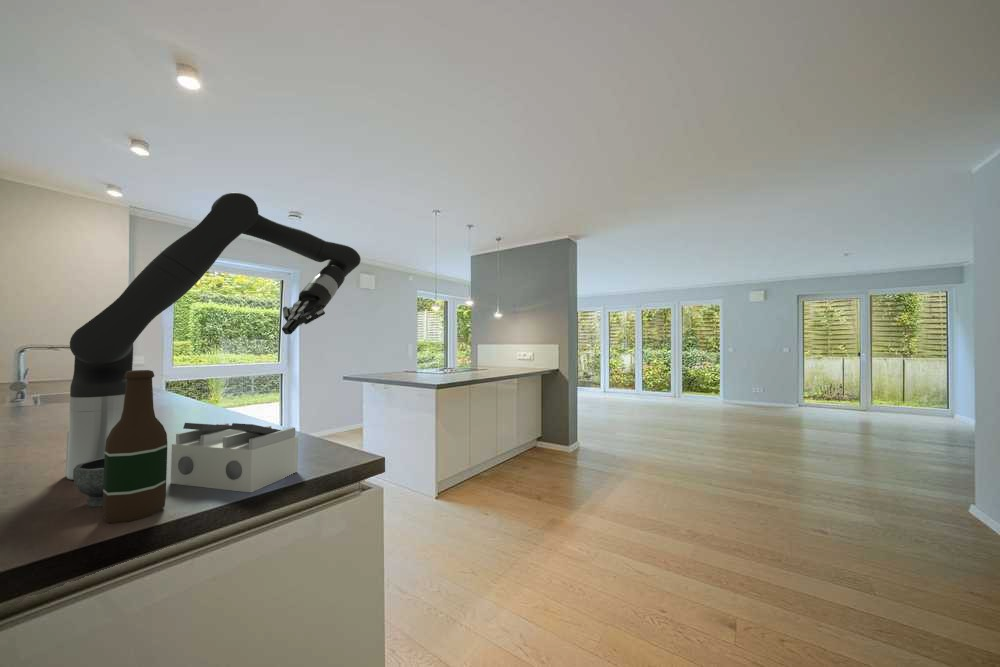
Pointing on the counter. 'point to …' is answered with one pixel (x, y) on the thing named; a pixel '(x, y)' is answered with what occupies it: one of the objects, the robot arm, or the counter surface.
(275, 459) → the box
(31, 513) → the counter surface
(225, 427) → the bar
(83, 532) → the counter surface
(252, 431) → the rocker
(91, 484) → the mortar and pestle
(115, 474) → the beer bottle
